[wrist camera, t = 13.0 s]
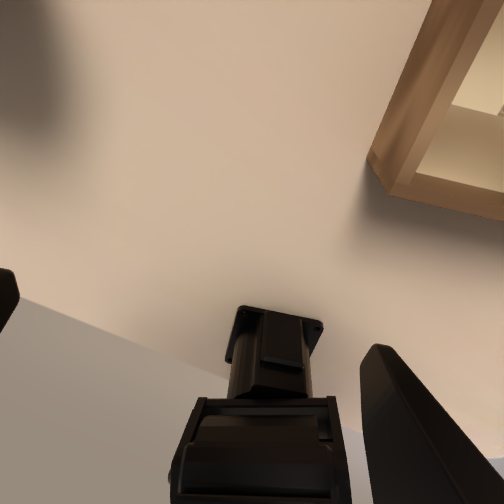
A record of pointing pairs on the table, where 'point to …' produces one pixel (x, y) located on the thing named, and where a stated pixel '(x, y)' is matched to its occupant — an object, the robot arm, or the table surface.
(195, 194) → the table surface
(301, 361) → the robot arm
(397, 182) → the walnut box
